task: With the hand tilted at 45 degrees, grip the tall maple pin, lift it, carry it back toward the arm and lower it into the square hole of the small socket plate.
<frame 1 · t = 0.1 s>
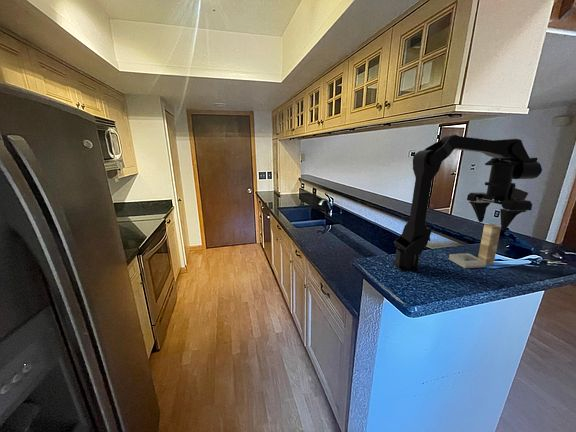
hand: (491, 225, 82), 14 cm above the worktop, tool pointing down, fingers open, 9 cm apart
socket plate: (466, 263, 87), on the worktop
pin: (485, 262, 87), on the worktop
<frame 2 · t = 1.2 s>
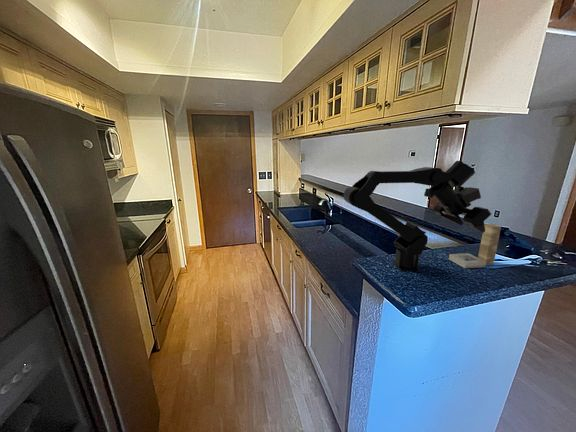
hand: (472, 227, 83), 13 cm above the worktop, tool tilted 45°, fingers open, 9 cm apart
nothing on the worktop moved.
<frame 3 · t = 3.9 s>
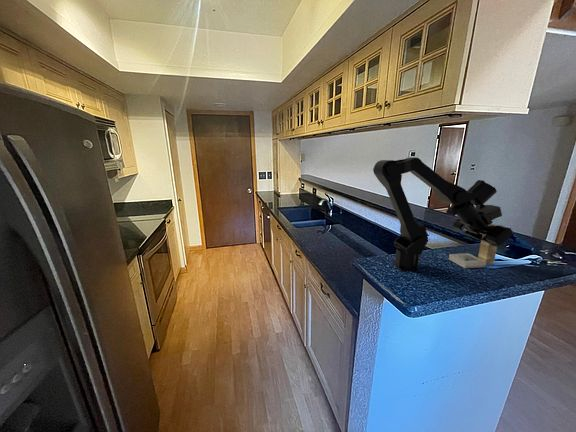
hand: (492, 244, 85), 7 cm above the worktop, tool tilted 45°, fingers closed on pin, 3 cm apart
pin: (485, 262, 87), on the worktop, touching gripper
when the fingers open (8 cm above the worktop, at t = 7.6 s): pin stays where it is, resting in socket plate.
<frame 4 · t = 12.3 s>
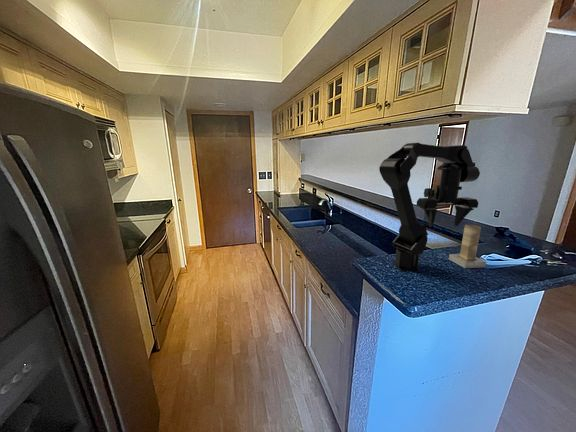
hand: (443, 226, 87), 13 cm above the worktop, tool pointing down, fingers open, 9 cm apart
pin: (466, 263, 87), resting in socket plate
at the end: pin 0.0 cm off-centre on the socket plate, point 0.0 cm above the socket plate's base; pin tilted 0°; the gripper is holding nothing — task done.
